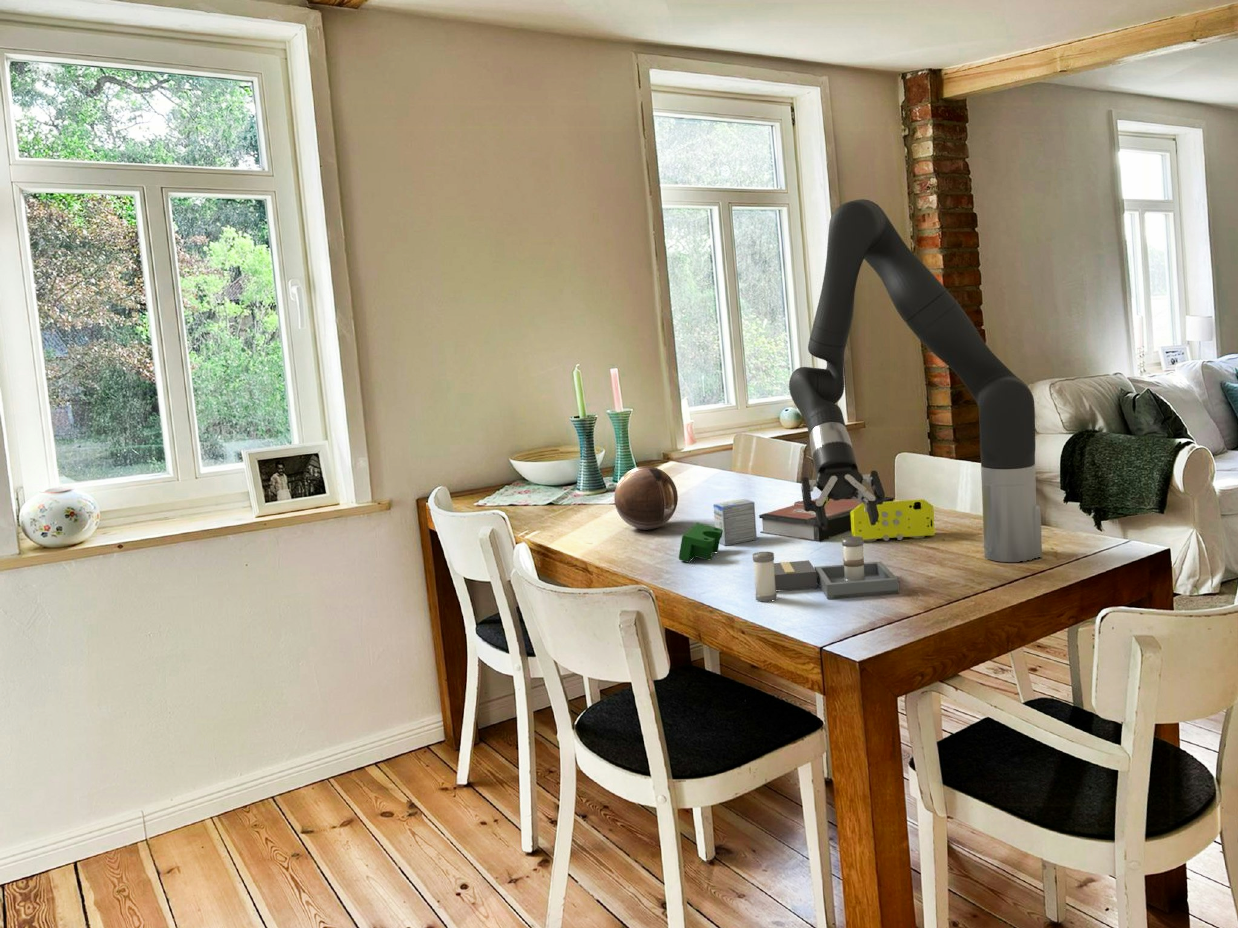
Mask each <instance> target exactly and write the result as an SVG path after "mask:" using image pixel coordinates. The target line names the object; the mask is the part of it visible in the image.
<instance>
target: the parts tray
mask: <svg viewBox="0 0 1238 928" xmlns="http://www.w3.org/2000/svg"><path fill="white" fill-rule="evenodd" d="M813 567H814V569H815V570H816V574H817V586H819V589H821V591H822V593H823V594H824V596H825V597H826V599H827V600H835V599H845V598H847V599H848V598H859V597H860V598H861V597H872V596H873V597H874V596H883V595H884V596H885V595H896V594H897V595H898V594H899V593H900V590H899V578H898V577H897V576H896V575H895V574H894V573H893V572H892V571H890V569H889V568H888V567H887V565H885V564H884V563H883V561H871V562H870V561H869V562H864V576H865V580H861V581H849V582H844V577H845V575H844V564H834V565H833V564H832V565H821V566H813Z"/></svg>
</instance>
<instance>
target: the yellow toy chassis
mask: <svg viewBox="0 0 1238 928" xmlns="http://www.w3.org/2000/svg"><path fill="white" fill-rule="evenodd" d="M877 509H878V513H879V517H878V522H876V524H875V525H871V523H870V519H869V516H868V512H867V506H866V505H864V504H863V503H862V504H861V505H859V506H857V507H856V508H855V509H853V510H852V511H851V512H850V513H851V531H850V532H851V536H857V537H862V538H863V542H867V543H868V542H869V543H871V542H876V541H877V539H882V540H883V541H885V542H887V541H889V540H890V539H892V538H894V539H896V538H897V539H896V540H899V541H902V540H903V538H908V537H909V538H910V539H923V538H925V536H935V513H934V505H932V504H931V503H930V502H929V501H927V500H925V499H924V498H922V499H909V500H897V501H896V500H894V501H891V502H883V504H881V505H879V504H878V505H877Z"/></svg>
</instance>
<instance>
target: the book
mask: <svg viewBox="0 0 1238 928" xmlns="http://www.w3.org/2000/svg"><path fill="white" fill-rule="evenodd" d="M818 498H819V497H818ZM818 498H815V499H812V501H815V502H816V501H817V500H818ZM894 499H895V498H894V497H890V496H889V497H888V496H885V497H884V500H883V502H891V501H895V500H894ZM861 504H862V502H858V501H857V500H856V499H854V498H853V497H852V498H851V499H841V500H837V501H834V500H833V499H830V500H829V502H828V503H827V505H826V506H825V507H824V508H825V513H826V517H827V522H828V527H827V530H823V528H822V527H819V525H818V521H817V517H816V513H815V512H814V511H809V512H807V511H805V510H804V504H803V500H801V501H800V500H797V501H795V502H794V503H793V504H792V505H790V506H786V507H783V508H779V509H775V510H773V511H769V512H765V513H762V514H759V515H758V517H759V519H761V522H762V530H761V531H759V533H760V534H766V535H772V536H777V537H784V538H785V537H786V538H790V539H791V538H792V539H797V540H798V539H799V540H805V541H812V542H816V543H821V542H823V541H826V540H830V538H833V537H836V536H839V535H841V534H845V533H847V532H852V531H851V513H850V512H851V511H852V510H853V509H855V508H856V507H857V506H859V505H861Z"/></svg>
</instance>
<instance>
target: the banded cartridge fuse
mask: <svg viewBox="0 0 1238 928" xmlns="http://www.w3.org/2000/svg"><path fill="white" fill-rule="evenodd" d="M841 545H842V553H843V554H842V557H843V558H842V559H843V561H842V563H843V565H844V575H845V577H844V582H849V581H861V580H865V576H864V563H865V558H864V541H863V538H862V537H857V536H853V535H851V536H846V537H843V538H841Z"/></svg>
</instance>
